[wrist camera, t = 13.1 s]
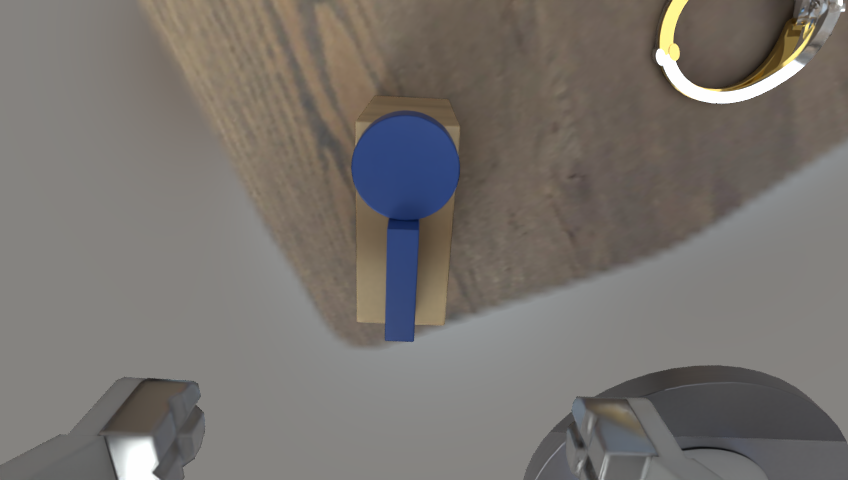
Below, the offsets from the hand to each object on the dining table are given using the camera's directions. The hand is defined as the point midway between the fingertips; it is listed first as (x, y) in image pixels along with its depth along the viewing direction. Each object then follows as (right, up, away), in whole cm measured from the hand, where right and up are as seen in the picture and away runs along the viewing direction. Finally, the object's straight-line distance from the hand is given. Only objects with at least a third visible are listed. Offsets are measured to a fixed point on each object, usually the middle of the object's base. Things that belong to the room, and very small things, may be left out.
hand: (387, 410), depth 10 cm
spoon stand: (0, +7, +17) cm, 18 cm away
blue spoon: (0, +4, +9) cm, 10 cm away
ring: (+12, +13, +14) cm, 23 cm away
